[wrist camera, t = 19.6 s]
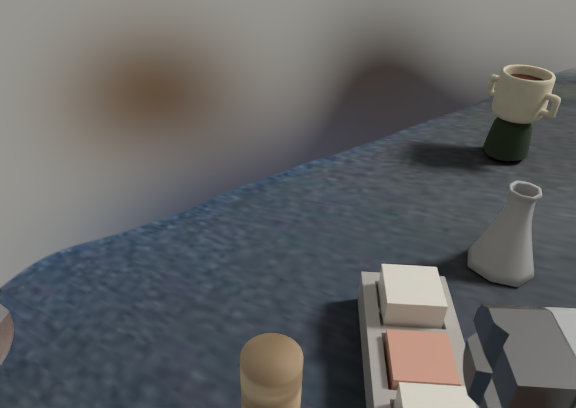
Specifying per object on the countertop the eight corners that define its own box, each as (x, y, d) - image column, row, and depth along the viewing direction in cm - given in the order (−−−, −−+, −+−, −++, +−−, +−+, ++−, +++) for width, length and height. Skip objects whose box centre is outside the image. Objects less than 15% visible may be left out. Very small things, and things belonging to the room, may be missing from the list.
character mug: (549, 163, 76) (580, 79, 69) (522, 177, 72) (551, 90, 65) (487, 136, 83) (508, 57, 76) (459, 147, 79) (479, 65, 72)
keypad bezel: (375, 519, 34) (382, 492, 32) (357, 298, 51) (361, 271, 49) (496, 528, 34) (510, 501, 32) (437, 303, 51) (444, 276, 49)
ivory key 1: (383, 326, 44) (387, 302, 43) (377, 286, 48) (381, 263, 47) (441, 329, 44) (447, 306, 42) (431, 289, 48) (436, 266, 47)
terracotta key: (388, 402, 40) (393, 379, 38) (382, 351, 44) (386, 329, 42) (453, 407, 40) (461, 384, 38) (440, 355, 44) (447, 332, 42)
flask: (455, 269, 56) (477, 192, 50) (477, 236, 61) (499, 163, 55) (524, 298, 52) (555, 218, 47) (541, 261, 57) (572, 185, 52)
